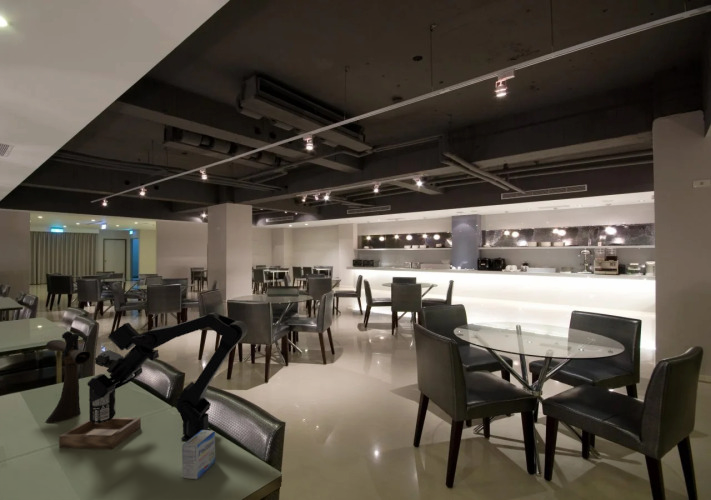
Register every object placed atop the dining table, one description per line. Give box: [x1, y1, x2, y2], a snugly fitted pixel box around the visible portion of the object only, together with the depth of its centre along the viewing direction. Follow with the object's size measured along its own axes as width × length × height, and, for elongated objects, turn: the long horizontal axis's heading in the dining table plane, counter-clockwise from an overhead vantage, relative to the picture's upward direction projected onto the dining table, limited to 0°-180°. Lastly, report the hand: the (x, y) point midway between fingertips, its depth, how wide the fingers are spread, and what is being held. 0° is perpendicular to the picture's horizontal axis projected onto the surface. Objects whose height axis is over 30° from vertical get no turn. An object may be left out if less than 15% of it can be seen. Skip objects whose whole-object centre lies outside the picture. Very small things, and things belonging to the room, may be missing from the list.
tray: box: [58, 416, 142, 451], centre depth 109 cm, size 16×12×4 cm
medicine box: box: [181, 430, 216, 480], centre depth 93 cm, size 8×4×9 cm, turn 168°
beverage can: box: [88, 387, 116, 423], centre depth 109 cm, size 7×7×12 cm
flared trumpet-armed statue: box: [45, 330, 91, 424], centre depth 124 cm, size 32×10×30 cm, turn 55°
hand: (98, 396), depth 109 cm, fingers closed on beverage can, 6 cm apart
